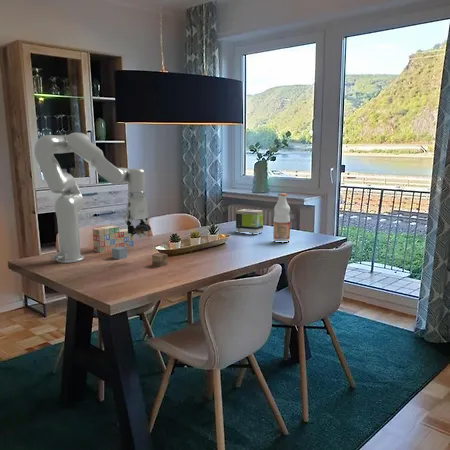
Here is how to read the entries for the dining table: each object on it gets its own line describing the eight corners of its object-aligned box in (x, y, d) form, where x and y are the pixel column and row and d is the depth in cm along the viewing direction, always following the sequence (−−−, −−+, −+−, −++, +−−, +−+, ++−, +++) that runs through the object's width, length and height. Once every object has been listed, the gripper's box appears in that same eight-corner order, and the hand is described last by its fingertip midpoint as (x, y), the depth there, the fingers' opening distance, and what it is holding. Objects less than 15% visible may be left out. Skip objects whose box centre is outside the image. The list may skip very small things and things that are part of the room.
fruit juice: (270, 241, 259) (270, 193, 254) (283, 239, 263) (284, 192, 258) (279, 244, 250) (280, 194, 246) (292, 242, 255) (294, 194, 250)
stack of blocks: (126, 244, 250) (126, 223, 248) (133, 246, 246) (132, 224, 244) (93, 251, 234) (92, 228, 232) (100, 252, 230) (99, 229, 228)
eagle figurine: (134, 236, 206) (152, 232, 210) (129, 223, 208) (148, 219, 212) (131, 242, 212) (149, 238, 216) (127, 229, 214) (144, 225, 218)
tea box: (263, 232, 284) (263, 210, 281) (256, 235, 275) (256, 212, 273) (242, 230, 291) (242, 208, 289) (235, 233, 283) (235, 210, 280)
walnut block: (160, 267, 203) (160, 256, 202) (152, 265, 205) (151, 255, 204) (167, 264, 207) (167, 254, 206) (159, 263, 209) (159, 252, 209)
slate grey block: (119, 259, 216) (119, 249, 215) (112, 258, 219) (111, 248, 218) (127, 257, 220) (126, 247, 220) (119, 256, 223) (119, 246, 222)
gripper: (129, 197, 198) (129, 236, 201) (154, 194, 213) (154, 230, 216) (117, 196, 202) (117, 234, 205) (143, 193, 217) (143, 228, 220)
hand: (136, 232), depth 210 cm, fingers closed on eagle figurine, 7 cm apart
